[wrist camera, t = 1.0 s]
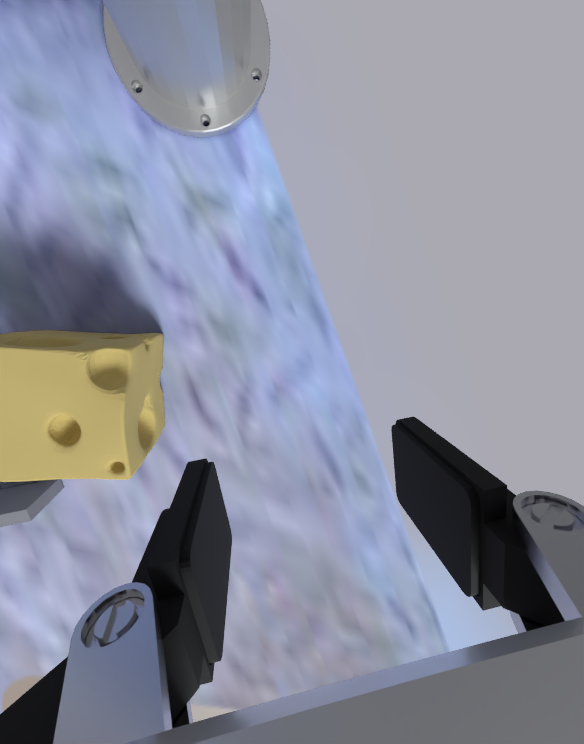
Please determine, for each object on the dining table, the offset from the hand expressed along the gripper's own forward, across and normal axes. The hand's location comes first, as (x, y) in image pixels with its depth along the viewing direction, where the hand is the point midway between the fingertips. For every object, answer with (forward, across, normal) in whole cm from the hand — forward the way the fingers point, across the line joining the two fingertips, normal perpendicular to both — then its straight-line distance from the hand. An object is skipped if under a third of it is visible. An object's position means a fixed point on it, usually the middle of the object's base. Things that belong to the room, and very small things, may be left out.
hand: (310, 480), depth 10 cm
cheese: (+23, +16, 0) cm, 28 cm away
